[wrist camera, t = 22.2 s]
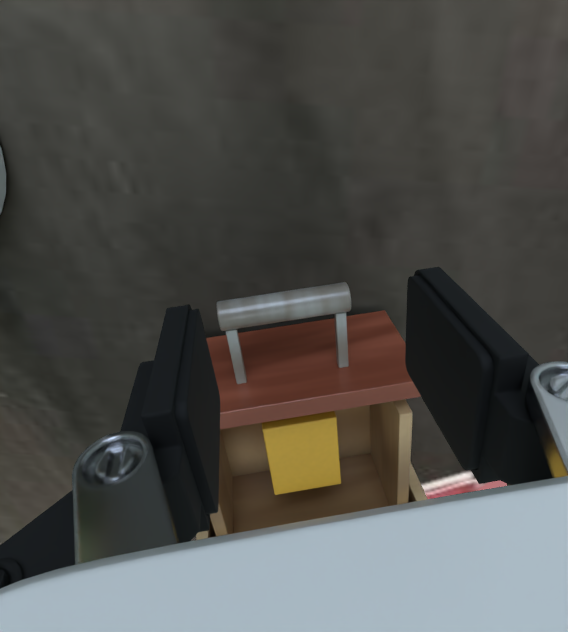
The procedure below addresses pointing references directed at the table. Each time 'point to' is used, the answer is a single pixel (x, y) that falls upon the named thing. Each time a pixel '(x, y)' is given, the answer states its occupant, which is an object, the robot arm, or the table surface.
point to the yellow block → (303, 452)
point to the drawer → (309, 404)
